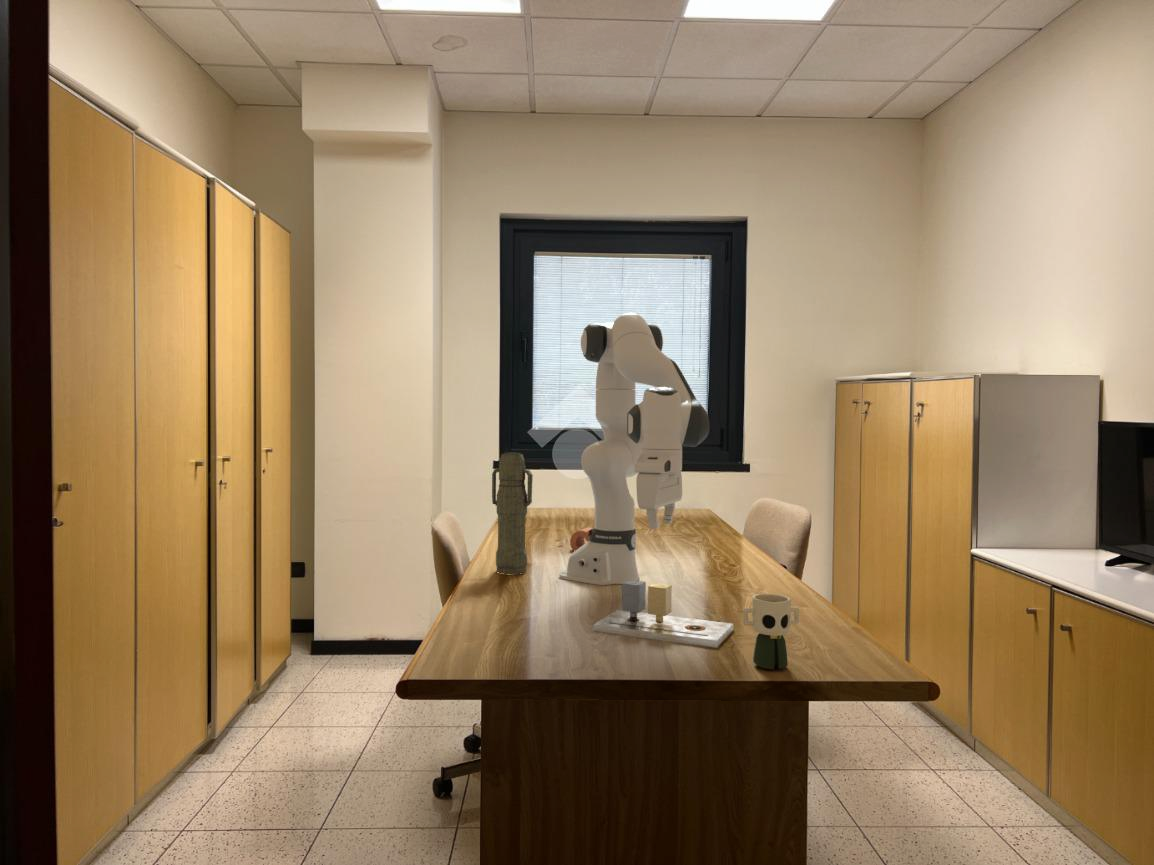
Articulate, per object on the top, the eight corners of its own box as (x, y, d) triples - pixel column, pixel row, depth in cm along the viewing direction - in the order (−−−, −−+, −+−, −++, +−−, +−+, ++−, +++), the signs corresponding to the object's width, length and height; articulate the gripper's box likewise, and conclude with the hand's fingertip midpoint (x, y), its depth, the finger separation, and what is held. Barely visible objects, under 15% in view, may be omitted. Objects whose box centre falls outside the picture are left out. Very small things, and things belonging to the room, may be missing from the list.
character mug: (748, 674, 144) (749, 603, 144) (735, 661, 151) (737, 593, 151) (805, 672, 146) (807, 601, 145) (790, 659, 153) (791, 592, 152)
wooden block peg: (647, 623, 171) (648, 586, 171) (653, 618, 175) (654, 582, 175) (665, 625, 170) (665, 588, 169) (671, 620, 173) (671, 584, 173)
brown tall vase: (528, 577, 224) (529, 454, 223) (488, 576, 226) (488, 453, 225) (534, 571, 233) (535, 452, 232) (495, 569, 235) (496, 451, 234)
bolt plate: (593, 631, 171) (594, 586, 171) (617, 616, 184) (618, 573, 183) (716, 647, 160) (717, 599, 160) (733, 630, 173) (733, 585, 172)
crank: (570, 553, 264) (570, 529, 263) (578, 549, 271) (578, 526, 271) (627, 558, 256) (627, 533, 256) (634, 554, 264) (635, 530, 263)
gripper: (662, 459, 182) (662, 519, 182) (631, 464, 163) (630, 531, 164) (689, 460, 179) (688, 521, 180) (660, 465, 161) (660, 533, 161)
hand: (660, 526), depth 171 cm, fingers open, 8 cm apart
